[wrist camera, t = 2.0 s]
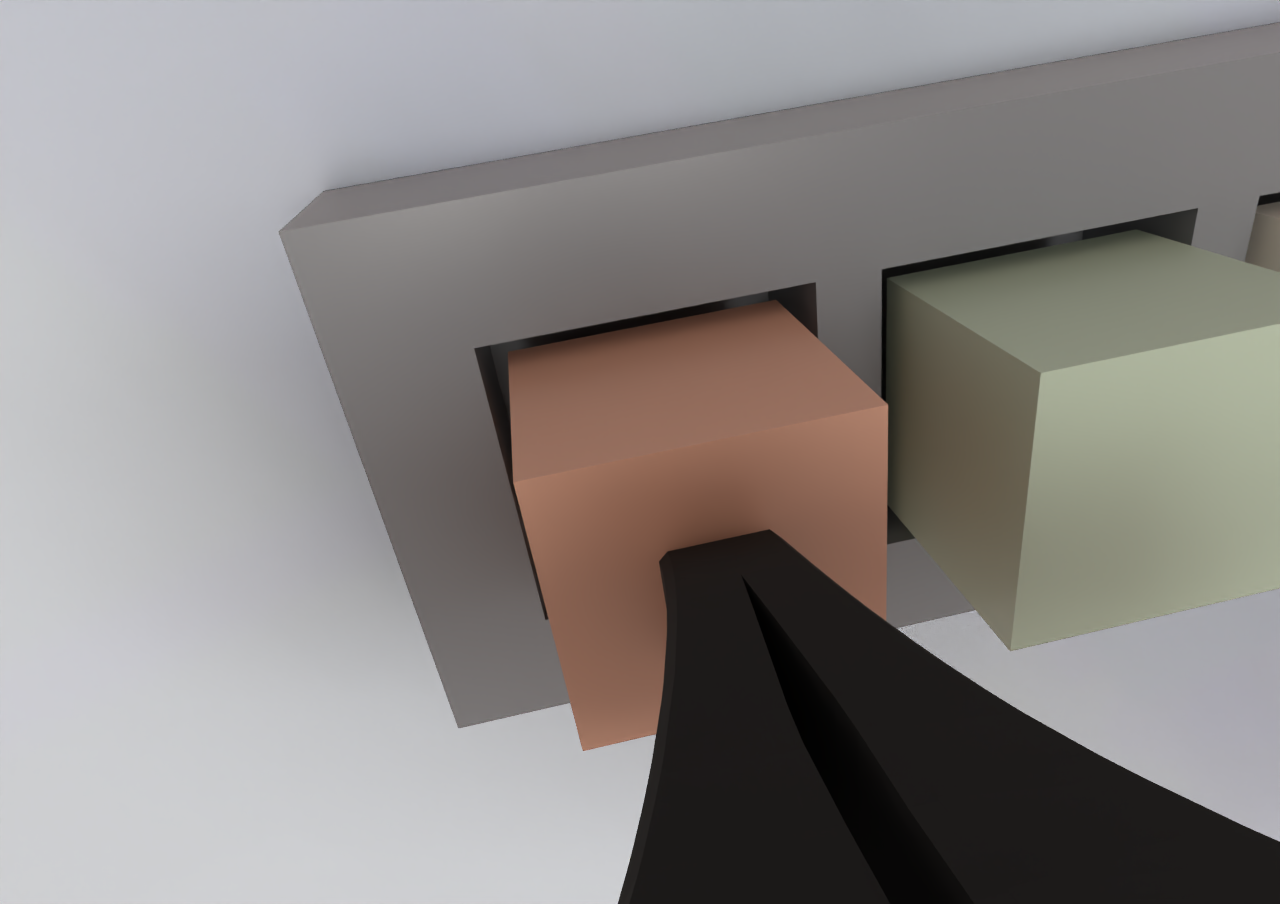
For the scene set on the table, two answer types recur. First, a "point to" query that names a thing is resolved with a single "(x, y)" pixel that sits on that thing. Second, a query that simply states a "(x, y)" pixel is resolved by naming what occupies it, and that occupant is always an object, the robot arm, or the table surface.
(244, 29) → the table surface
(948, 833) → the robot arm
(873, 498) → the terracotta key
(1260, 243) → the ivory key
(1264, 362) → the sage key
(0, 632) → the table surface
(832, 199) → the keypad housing
